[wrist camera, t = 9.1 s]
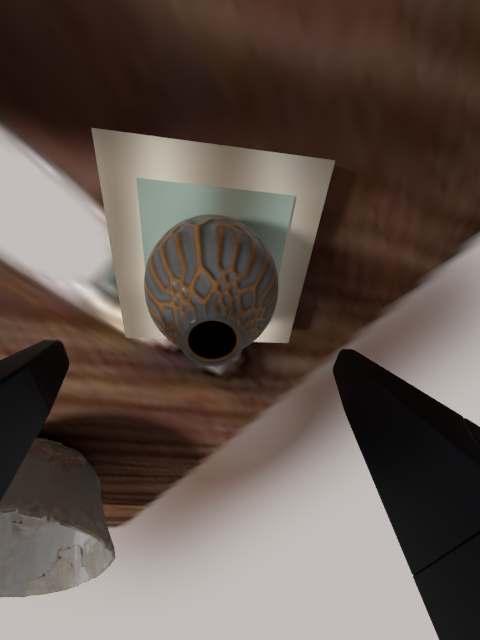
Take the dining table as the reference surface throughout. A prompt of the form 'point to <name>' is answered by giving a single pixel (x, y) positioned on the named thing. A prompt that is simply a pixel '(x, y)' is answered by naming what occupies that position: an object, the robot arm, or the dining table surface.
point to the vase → (211, 287)
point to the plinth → (207, 210)
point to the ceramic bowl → (52, 523)
